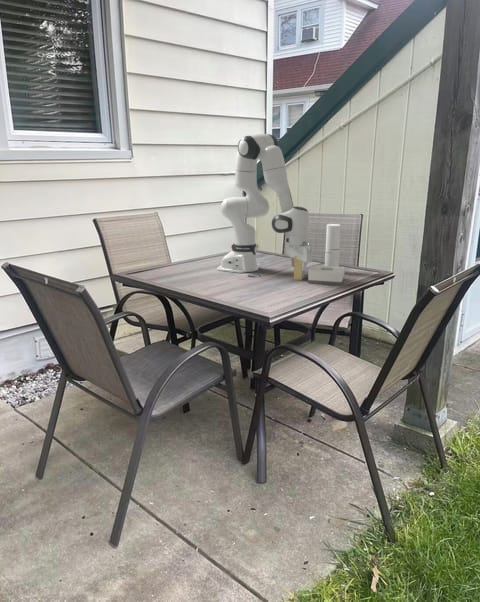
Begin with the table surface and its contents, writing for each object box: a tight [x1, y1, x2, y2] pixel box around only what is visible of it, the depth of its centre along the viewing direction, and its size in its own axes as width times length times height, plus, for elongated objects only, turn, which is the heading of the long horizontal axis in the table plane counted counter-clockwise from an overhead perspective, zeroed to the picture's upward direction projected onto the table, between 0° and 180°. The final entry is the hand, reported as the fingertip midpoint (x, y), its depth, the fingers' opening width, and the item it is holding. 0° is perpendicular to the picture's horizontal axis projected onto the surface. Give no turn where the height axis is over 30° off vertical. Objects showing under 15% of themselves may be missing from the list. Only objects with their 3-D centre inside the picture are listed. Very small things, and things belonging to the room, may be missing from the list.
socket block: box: [307, 264, 346, 286], centre depth 235 cm, size 16×13×6 cm
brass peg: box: [293, 256, 304, 281], centre depth 238 cm, size 4×4×12 cm
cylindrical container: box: [324, 223, 342, 267], centre depth 251 cm, size 7×7×25 cm
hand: (298, 268), depth 238 cm, fingers open, 8 cm apart
